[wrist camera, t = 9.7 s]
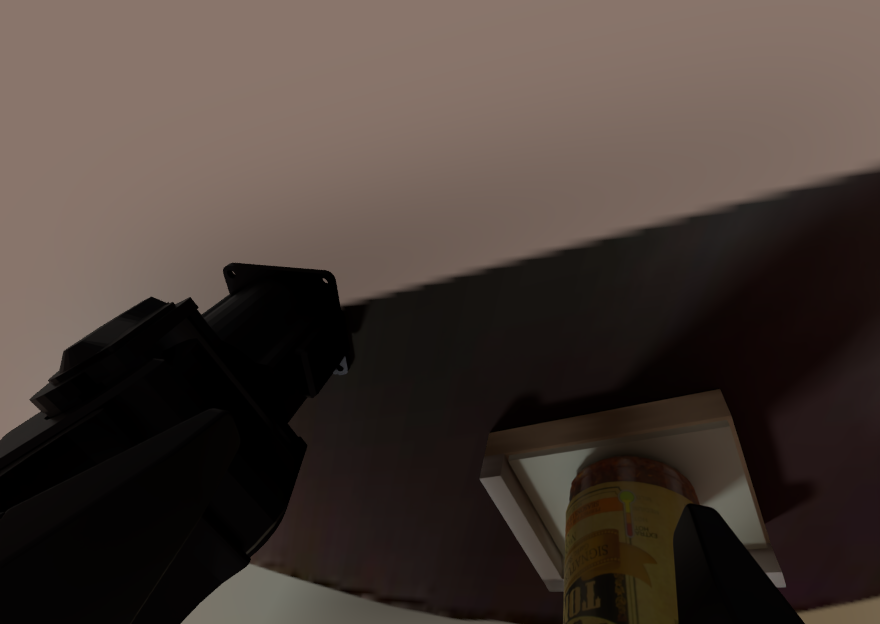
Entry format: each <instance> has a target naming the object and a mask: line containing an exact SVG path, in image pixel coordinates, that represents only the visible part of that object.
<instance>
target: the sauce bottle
mask: <svg viewBox="0 0 880 624" xmlns="http://www.w3.org/2000/svg"><path fill="white" fill-rule="evenodd" d="M688 503H693V504H698V505H700V503H699V500H698V497H697V495H696V492H695V489H694V487H693V486H692V484H691V482H690V481H689V480H688V479H687V478H686V477H685V476H684V475H682V474H681V473H680V472H679V471H678V470H677V469H676V468H673V467H671V466H669V465H667V464H664V463H663V462H659V461H656V460H651V459H649V458H644V457H639V456H632V455H622V456H619V457H618V456H614V457H610V458H606V459H602V460H599V461H597V462H595V463H592V464H590V465H588V466H587V467H585V468H584V469H583V470H582V471H580V472H578V474H577V476H576V477H575V478H574V480H573V481H572V483H571V489H570V496H569V504H568V507H567V510H566V527H565V566H564V612H563V624H679V621H678V608H677V594H676V580H675V566H674V552H673V535H674V531H675V528H676V526H677V523H678V521H679V519H680V516H681V514H682V512H683V509H684V507H685V506H686V505H687V504H688Z"/></svg>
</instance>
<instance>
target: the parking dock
mask: <svg viewBox="0 0 880 624" xmlns="http://www.w3.org/2000/svg"><path fill="white" fill-rule="evenodd" d="M622 455H632V456H639V457H644V458H649V459H651V460H656V461H659V462H663V463H664V464H667V465H669V466H671V467H673V468H676V469H677V470H678V471H679V472H680V473H681V474H682V475H684V476H685V477H686V478H687V479H688V480H689V481H690V482H691V484H692V486H693V487H694V489H695V492H696V495H697V497H698V500H699V503H700V505H703V506H708V507H712V508H714V509H715V510H716V511H717V512H718V513H719V514H720V515H721V516H722V518H723V519H724V520H725V522H726V523H727V524H728V525H729V527H730V528H731V529H732V531H733V532H734V533H735V534H736V536H737V537H738V538H739V540H740V541H741V542H742V543H743V545H744V546H745V547H746V549H747V550H748V551H749V552H750V554H751V555H752V556H753V558H754V559H755V560H756V561H757V563H758V564H759V565H760V567H761V568H762V569H763V570H764V572H765V573H766V574H767V576H768V577H769V578H770V579H771V581H772V582H773V583H774V585H775V586H776V587H786V584H785V581H784V578H783V574H782V571H781V569H780V566H779V564H778V561H777V559H776V556H775V554H774V551H773V549H772V546H771V544H770V541H769V537H768V534H767V531H766V527H765V524H764V521H763V518H762V514H761V511H760V508H759V505H758V501H757V498H756V495H755V491H754V488H753V485H752V482H751V478H750V475H749V472H748V468H747V465H746V462H745V459H744V455H743V452H742V449H741V445H740V442H739V439H738V436H737V432H736V429H735V426H734V423H733V419H732V416H731V413H730V411H729V409H728V406H727V404H726V402H725V399H724V397H723V395H722V392H721V390H720V389H717V390H712V391H707V392H701V393H696V394H691V395H686V396H680V397H675V398H670V399H665V400H660V401H654V402H649V403H644V404H639V405H633V406H628V407H623V408H618V409H613V410H607V411H602V412H597V413H592V414H586V415H581V416H576V417H571V418H566V419H560V420H555V421H550V422H545V423H539V424H534V425H529V426H524V427H519V428H513V429H508V430H503V431H498V432H492V433H489V437H488V442H487V446H486V451H485V456H484V460H483V465H482V470H481V474H480V480H481V482H482V484H483V485H484V487H485V488H486V490H487V492H488V493H489V495H490V496H491V498H492V500H493V501H494V503H495V504H496V506H497V508H498V509H499V511H500V512H501V514H502V516H503V517H504V519H505V520H506V522H507V524H508V525H509V527H510V529H511V530H512V532H513V533H514V535H515V537H516V538H517V540H518V541H519V543H520V545H521V546H522V548H523V549H524V551H525V553H526V554H527V556H528V557H529V559H530V561H531V562H532V564H533V565H534V567H535V569H536V570H537V572H538V573H539V575H540V577H541V578H542V580H543V581H544V583H545V585H546V586H547V588H548V589H549V591H550V592H556V591H564V566H565V527H566V510H567V507H568V504H569V496H570V489H571V483H572V481H573V480H574V478H575V477H576V476H577V474H578V472H580V471H582V470H583V469H584V468H585V467H587V466H588V465H590V464H592V463H595V462H597V461H599V460H602V459H606V458H610V457H614V456H618V457H619V456H622Z"/></svg>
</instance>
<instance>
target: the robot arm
mask: <svg viewBox="0 0 880 624" xmlns="http://www.w3.org/2000/svg"><path fill="white" fill-rule="evenodd" d="M232 271H233V272H234V273H235V274H234V273H233V272H232ZM223 274H224V277H225V280H226V283H227V286H228V290H229V293H230V294H229V295H228V296H227V297H225V298H224V299H223V300H221V301H220V302H218V303H217V304H216V305H214V306H213V307H212V308H210V309H209V310H207V311H206V312H205V313H203V314H202V315H201V314H200V313H199V311H198V310H197V309H198V306H197V305H196V304H195V302H194V301H193V300H192V299H191V297H189V298H187V299H185V300H183V301H181V302H179V303H177V304H174V303H173V302H171V303H169V302H168V303H165V302H163V301H160V300H158V299H156V298H153V297H150V298H148V299H146V300H144V301H142V302H141V303H139V304H137V305H136V306H134V307H132V308H131V309H129V310H127V311H125V312H124V313H122V314H120V315H119V316H117V317H115V318H114V319H112V320H111V321H109V322H107V323H106V324H104V325H103V326H101V327H99V328H98V329H96V330H95V331H93V332H92V333H90V334H89V335H87V336H86V337H84V338H83V339H81V340H80V341H78V342H77V343H75V344H74V345H72V346H70V347H69V348H68V349H66V350H65V351H64V352H63V356H62V361H61V366H60V370H59V371H58V372H57V373H56V374H55V375H53V376H52V377H51V378H50V379H49V380H48V381H49V384H47V385H46V386H45V387H43V388H42V389H41V390H40V391H39V392H37V393H36V394H35V395H34V396H33V397H32V398H31V399H30V401H31V402H32V403H33V404H34V405H35V406H36V407H37V408H39V410H41V412H40V413H38V414H36V415H35V416H33V417H32V418H30V419H29V420H27V421H25V422H24V423H22V424H21V425H19V426H18V427H16V428H15V429H13V430H12V431H10V432H9V433H7V434H6V435H5V436H4V437H3V438H2V439H1V440H0V624H181V623H182V621H183V620H184V619H185V618H186V617H187V616H188V615H189V614H190V613H191V612H192V611H193V610H194V609H195V608H196V606H198V605H199V603H200V602H202V601H203V600H204V599H205V598H206V597H207V596H208V595H209V594H211V593H212V592H213V591H214V590H215V589H216V588H218V587H219V586H220V585H221V584H222V583H223V582H225V581H226V580H228V579H229V578H231V577H232V576H233V575H235V574H236V573H238V572H239V571H241V570H242V569H244V568H245V567H246V566H247V565H248V564H249V562H250V560H251V558H250V557H251V556H252V555H253V554H254V553H256V552H257V551H258V550H259V549H260V548H261V547H262V546H263V545H264V544H265V543H266V542H267V541H268V539H269V538H270V537H271V536H272V534H273V533H274V532H275V531H276V529H277V527H278V526H279V524H280V522H281V521H282V519H283V517H284V514H285V512H286V509H287V506H288V503H289V500H290V497H291V494H292V491H293V488H294V485H295V482H296V479H297V476H298V473H299V470H300V467H301V464H302V461H303V458H304V455H305V452H306V449H307V444H306V443H305V442H304V440H303V439H302V438H301V437H298V436H297V435H296V434H295V432H294V431H293V430H292V429H291V427H290V426H289V425H288V422H289V421H290V420H291V418H292V417H293V416H294V414H295V413H296V412H297V410H298V409H299V408H300V406H301V405H302V404H303V402H304V401H305V400H306V398H307V397H309V398H314V397H315V396H316V395H317V394H318V393H319V391H320V390H321V389H322V387H323V386H324V385H325V383H326V382H327V381H328V379H329V378H330V376H331V375H332V374H339V375H344V374H346V373H347V372H348V370H349V369H350V359H349V353H348V352H349V350H350V347H349V342H348V336H347V330H346V324H345V318H344V313H343V312H342V310H341V307H340V302H339V296H338V290H337V285H336V279H335V277H334V275H333V274H332V273H331V272H329V271H326V270H315V269H303V268H290V267H278V266H266V265H254V264H242V263H231V264H229V265H227V266H226V267H224V269H223ZM322 278H325V279H326V280H327V282H328V283H325V282H324V281H323V279H322ZM339 364H340V365H342V366H343V367H341V366H340V365H339ZM673 552H674V566H675V580H676V594H677V608H678V621H679V624H805V623H804V622H803V621H802V619H801V618H800V617H799V615H798V614H797V613H796V612H795V610H794V609H793V608H792V606H791V605H790V604H789V603H788V601H787V600H786V599H785V597H784V596H783V595H782V594H781V592H780V591H779V590H778V588H777V587H776V586H775V585H774V583H773V582H772V581H771V579H770V578H769V577H768V576H767V574H766V573H765V572H764V570H763V569H762V568H761V567H760V565H759V564H758V563H757V561H756V560H755V559H754V558H753V556H752V555H751V554H750V552H749V551H748V550H747V549H746V547H745V546H744V545H743V543H742V542H741V541H740V540H739V538H738V537H737V536H736V534H735V533H734V532H733V531H732V529H731V528H730V527H729V525H728V524H727V523H726V522H725V520H724V519H723V518H722V516H721V515H720V514H719V513H718V512H717V511H716V510H715V509H714V508H712V507H708V506H703V505H698V504H693V503H688V504H687V505H686V506H685V507H684V509H683V512H682V514H681V516H680V519H679V521H678V523H677V526H676V528H675V531H674V535H673Z"/></svg>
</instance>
